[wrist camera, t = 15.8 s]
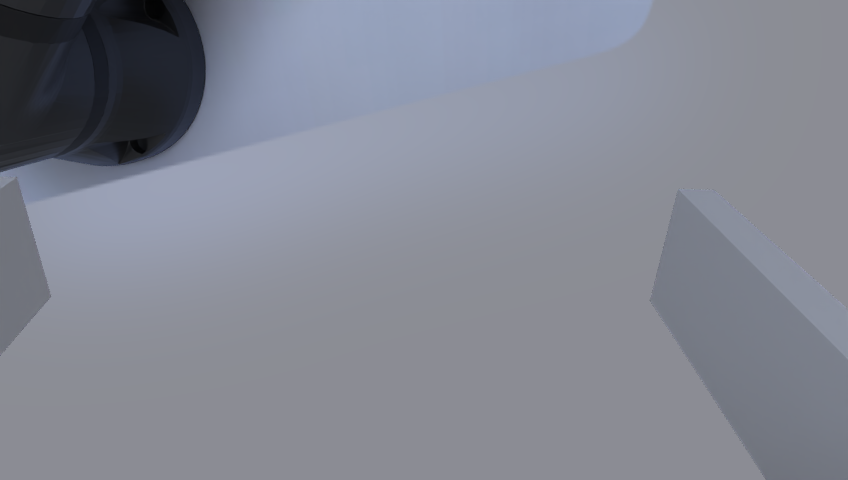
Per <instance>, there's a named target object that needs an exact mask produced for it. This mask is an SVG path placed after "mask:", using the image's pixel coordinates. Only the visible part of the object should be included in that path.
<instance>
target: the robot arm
mask: <svg viewBox="0 0 848 480" xmlns="http://www.w3.org/2000/svg"><path fill="white" fill-rule="evenodd" d="M204 80H205V62H204V53H203V47H202V43H201V39H200V35H199V32H198V29H197V26H196V24H195V21H194V19H193V17H192V14H191V12H190V11H189V9H188V7H187V5H186V3H185V2H184V0H0V172H2V171H6V170H9V169H13V168H17V167H20V166H24V165H27V164H31V163H35V162H39V161H42V160H46V159H49V158H56V159H62V160H67V161H73V162H78V163H84V164H90V165H97V166H116V165H124V164H129V163H133V162H136V161H139V160H142V159H145V158H148V157H151V156H154V155H156V154H158V153H160V152H162V151H164V150H165V149H167V148H169V147H170V146H171V145H172V144H174V143H175V142H176V141H177V140H178V139H179V138H180V137H181V136H182V135H183V134H184V133H185V131H186V130H187V129H188V127H189V126H190V124H191V123H192V121H193V119H194V117H195V115H196V113H197V110H198V108H199V105H200V102H201V98H202V94H203V88H204ZM50 297H51V295H50V291H49V288H48V284H47V281H46V277H45V274H44V270H43V267H42V263H41V260H40V256H39V253H38V249H37V246H36V242H35V239H34V236H33V232H32V228H31V225H30V221H29V218H28V215H27V211H26V208H25V204H24V201H23V197H22V194H21V190H20V187H19V183H18V180H17V177H0V355H1V354H2V353H3V352H4V351H5V350H6V348H7V347H8V346H9V345H10V344H11V343H12V341H13V340H14V339H15V338H16V337H17V335H18V334H19V333H20V332H21V331H22V330H23V329H24V327H25V326H26V325H27V324H28V323H29V322H30V320H31V319H32V318H33V317H34V316H35V315H36V313H37V312H38V311H39V310H40V309H41V308H42V306H43V305H44V304H45V303H46V302H47V301H48V300H49V298H50ZM650 302H651V303H652V305H653V306H654V308H655V309H656V311H657V313H658V314H659V316H660V317H661V319H662V320H663V322H664V323H665V325H666V326H667V328H668V329H669V331H670V332H671V334H672V336H673V337H674V339H675V340H676V342H677V343H678V345H679V346H680V348H681V349H682V351H683V352H684V354H685V356H686V357H687V359H688V360H689V362H690V363H691V365H692V366H693V368H694V370H695V371H696V373H697V374H698V376H699V377H700V379H701V380H702V382H703V383H704V385H705V387H706V388H707V390H708V391H709V393H710V394H711V396H712V397H713V399H714V400H715V402H716V403H717V405H718V407H719V408H720V410H721V411H722V413H723V414H724V416H725V417H726V419H727V420H728V422H729V423H730V425H731V426H732V428H733V430H734V431H735V433H736V434H737V436H738V437H739V439H740V441H741V442H742V443H743V445H744V446H745V448H746V450H747V451H748V453H749V454H750V456H751V457H752V459H753V461H754V462H755V464H756V465H757V467H758V468H759V470H760V471H761V473H762V474H763V476H764V477H765V479H766V480H848V309H847V308H846V307H845V306H844V305H843V304H841V303H840V302H839V301H838V300H837V299H836V298H835V297H833V295H831V294H830V293H829V292H828V291H827V290H826V289H825V288H824V287H823V286H821V285H820V284H819V283H818V282H817V281H816V280H815V279H814V278H812V277H811V276H810V275H809V274H808V273H807V272H806V271H805V270H803V269H802V268H801V267H800V266H799V265H798V264H797V263H796V262H794V261H793V260H792V259H791V258H790V257H789V256H788V255H787V254H786V253H784V252H783V251H782V250H781V249H780V248H779V247H778V246H777V245H776V244H774V243H773V242H772V241H771V240H770V239H769V238H768V237H767V236H765V235H764V234H763V233H762V232H761V231H760V230H759V229H758V228H756V227H755V226H754V225H753V224H752V223H751V222H750V221H749V220H748V219H746V218H745V217H744V216H743V215H742V214H741V213H740V212H739V211H737V210H736V209H735V208H734V207H733V206H732V205H731V204H730V203H728V202H727V201H726V200H725V199H724V198H723V197H721V195H720V194H718V193H717V192H716V191H715V190H701V189H694V190H693V189H678V192H677V195H676V199H675V204H674V208H673V212H672V215H671V219H670V223H669V227H668V231H667V235H666V240H665V243H664V247H663V251H662V255H661V259H660V263H659V267H658V271H657V275H656V279H655V283H654V287H653V291H652V295H651V299H650Z"/></svg>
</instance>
